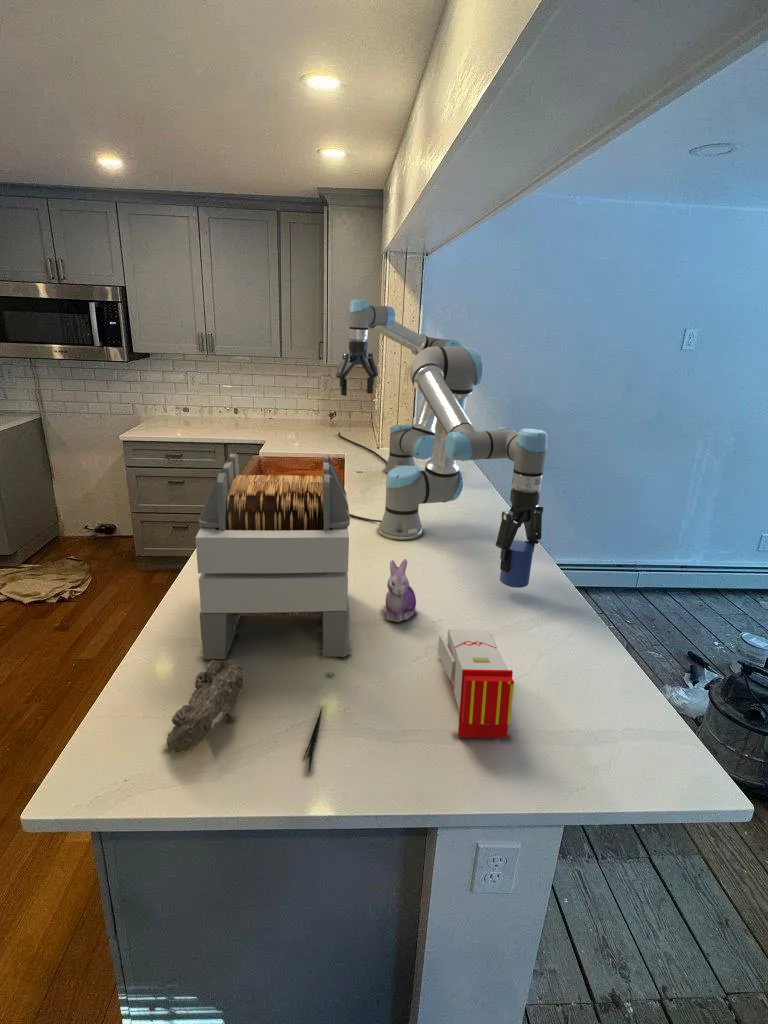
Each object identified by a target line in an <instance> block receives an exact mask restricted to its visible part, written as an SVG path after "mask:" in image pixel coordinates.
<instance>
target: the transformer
mask: <svg viewBox="0 0 768 1024" xmlns="http://www.w3.org/2000/svg"><path fill="white" fill-rule="evenodd" d="M339 476H340V475H339V474H338V472H337V470H336V468H335V465H334V464H333V462H332V459H331V457H330V455H329V454H322V475H316V476H315V475H305V476H304V477H302V476H301V475H289V474H288V475H286V474H285V475H284V474H283V475H280V474H279V475H270V474H268V475H266V474H257V475H256V474H253V475H252V474H248V475H246V474H240V464H239V454H238V453H230V454H229V456H228V458H227V460H226V461H225V462H224V463H223V466H222V469H221V471H220V472H219V473H218V474H217V477H216V479H215V481H214V483H213V485H212V488H211V490H210V492H209V494H208V497H207V499H206V501H205V503H204V505H203V508H202V510H201V512H200V515H199V518H198V526H199V527H200V528H199V530H198V532H197V534H196V536H195V549H196V550H195V551H196V552H195V553H196V564H197V565H196V567H197V574H200V575H199V577H198V591H199V602H200V605H199V606H200V611H199V624H200V639H201V645H202V656H201V657H202V660H204V661H205V660H206V661H210V660H226V659H227V658H226V657H227V655H228V653H229V651H230V648H231V645H232V643H233V641H234V638H235V636H236V626H238V624H239V621H240V617H243V616H244V617H245V616H246V617H247V616H290V615H292V616H293V615H294V616H296V615H298V616H299V615H302V616H303V615H309V616H311V615H322V657H323V658H325V657H326V658H328V657H329V658H330V657H331V658H333V657H335V658H337V657H340V658H345V657H347V656H348V655H349V653H350V652H349V650H350V649H349V647H350V603H349V595H348V591H349V552H350V551H349V547H350V535H349V534H350V533H349V528H348V527H350V523H351V516H349V514H350V509H349V502H348V496H347V492H346V489H345V487H344V485H343V483H342V481H341V478H340V477H339Z"/></svg>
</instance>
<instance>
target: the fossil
mask: <svg viewBox="0 0 768 1024" xmlns="http://www.w3.org/2000/svg"><path fill="white" fill-rule="evenodd" d="M243 670H244V669H243V667H242V665H240V664H237V662H236V661H235V660H234V659H232V658H231V659H227V658H226V659H223V661H222V660H218V659H211V661H210V663H209V665H208V666H207V671H201V672H199V673H198V674H197V675H196V676H195V680H194V684H195V685H194V687H195V689H194V690H193V693H192V694H191V697H190V698H189V700H188V704H184V705H182V706H181V707H180V709H177V710H176V711H175V713H174V715H173V716H172V718H171V723H172V724H173V727H172V730H171V731H170V732H168V734H167V738H166V741H167V742H166V745H167V749H168V750H169V751H173V752H174V753H176V754H178V753H182V752H188V751H189V752H192V751H193V750H195V748H196V747H197V746H199V744H200V743H201V742H203V741H204V740H205V739H206V738H207V737H208V736H209V735H210V734H211V733H212V732H214V730H215V729H217V727H218V726H219V724H220V722H221V721H222V720H223V719H224V718H225V716H226V717H227V719H229V720H233V717H232V715H230V714H229V710H230V709H231V708H234V706H235V704H236V703H237V702H238V699H239V697H240V695H241V693H242V691H243V690H245V689H244V688H245V675H244V671H243Z"/></svg>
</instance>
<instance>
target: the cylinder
mask: <svg viewBox="0 0 768 1024" xmlns="http://www.w3.org/2000/svg"><path fill="white" fill-rule="evenodd" d="M506 545H507V544H506ZM510 549H511V550H512V553H511V561H510V569H509V572H508V573H507V572H505V571H503V570H501V569H500V574H499V581H500V583H502V585H504V586H506V587H511V588H514V589H515V588H519V589H520V588H526V587H527V586H529V583H530V576H531V569H532V563H533V554H534V552H533V549H534V550H535V546H534V547H533V546H532V545H531V544H529V543H527V542H525V541H523V540H517V539H516V540H515V539H514V540H513V542H512V545H511V547H510Z"/></svg>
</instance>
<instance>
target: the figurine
mask: <svg viewBox="0 0 768 1024" xmlns="http://www.w3.org/2000/svg"><path fill="white" fill-rule="evenodd" d="M407 567H408V559H406V558H404V559H403V560H402V561H401V563H400V565H399V566H398V565H397V563H396V562H395V561H394V560H393V559H391V560H390V561H389V570H390V576H389V578H388V579H387V589H388V591H387V592H386V594H385V595H386V596H385V607H384V615H385V616H386V620H387V621H391V622H395V623H400V622H402V621H406V620H409V619H410V618H411V617H413V616H414V615H415V610H416V606H417V597H416V593H415V591H414V590H413V587H411V586H410V582H409V579H408V577H407V574H406V571H407Z"/></svg>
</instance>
